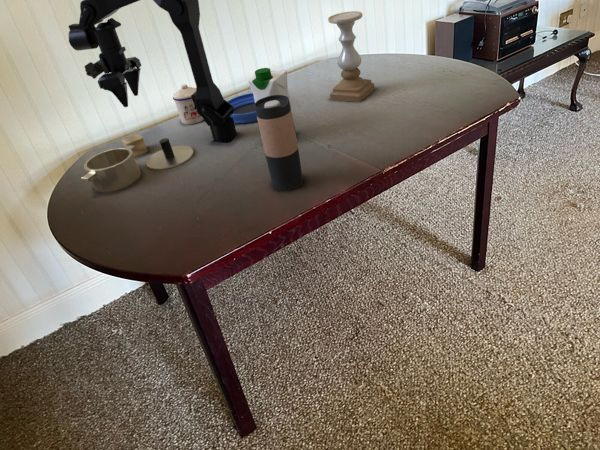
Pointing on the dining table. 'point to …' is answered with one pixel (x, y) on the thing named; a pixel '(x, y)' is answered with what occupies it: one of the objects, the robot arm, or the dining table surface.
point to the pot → (112, 169)
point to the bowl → (244, 108)
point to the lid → (169, 156)
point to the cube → (136, 144)
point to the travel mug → (279, 141)
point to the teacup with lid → (186, 105)
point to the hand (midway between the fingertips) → (131, 101)
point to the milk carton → (269, 84)
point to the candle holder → (349, 61)
